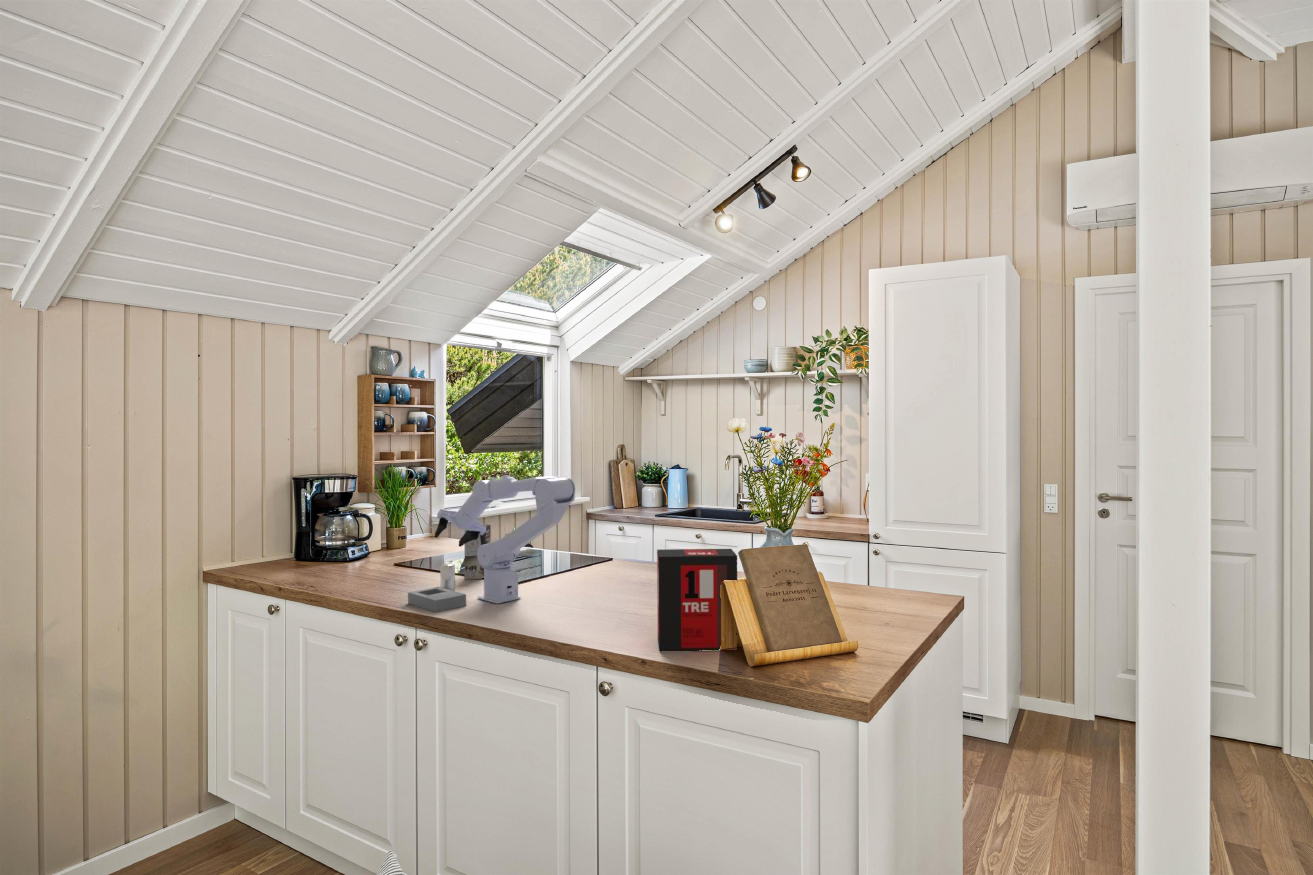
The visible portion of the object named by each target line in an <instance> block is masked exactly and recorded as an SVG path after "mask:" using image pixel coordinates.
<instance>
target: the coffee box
mask: <svg viewBox="0 0 1313 875" xmlns="http://www.w3.org/2000/svg"><path fill="white" fill-rule="evenodd" d="M483 525H484V526H486V532H485V533H484V534H483V535H481V534H479V537H478V539H476V540H472V541H469V542H467V543H466V544H464V579H465V580H466V579H467V580H472V579H473V580H474V579H475V580H483V579H482V578H484V568H482V565H481V564H480V563H479V561H478V557H477V552H478V549H479V547H480V546H481V545H483V544H490V543H491V542H492V541H491V540H492V539H491V538H492V535H491V532H492V530H491V526H492V524H483ZM466 531H467V530H464V534H465V533H466Z"/></svg>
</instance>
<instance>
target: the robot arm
mask: <svg viewBox="0 0 1313 875" xmlns="http://www.w3.org/2000/svg"><path fill="white" fill-rule="evenodd" d="M521 492H531V493H532V495H533V496H534V497H535V504H536V505H535V506H536V514H535V515H534V516H532V517H531V518H529V519H528V520H527V521H524V523H522V524H520V525H519V526H518V527H516V528H515V529H514V530H512V531H510V532H509V533H507V534H506V535H505V536H503V537H502V538H499V539H497V540H494V541H491V543H490V544H483V545H481V546H480V547H479V549H478V552H477V557H478V561H479V563H480V564H481V565H482V568H484V579H483V595H479V596H477V599H478V600H482V601H485V602H489V603H494V604H502V603H507V602H511V601H516V600H520V599H521V598H522V597H521V596H520V595H519V577H518V574H517V572H516V571H515V569H512V567H511V566H512V565H513V562H514V561H515V560H516V557H517V555H519V554H520V553H521V550H522V548H524V547H525V546H526V545H528V544H529V543H531V542H533V541H534V540H535V539H537V538H538V537H541V535H543V534H545V533H546V532H547V531H549V530H550V529H553V527H555V526H556V525H557V524H559V523H560V522H561V520H562V518H563V516H564V514H565V512H566V511H567V509H568V507H569V506H570V505H571V504H572V503H573V502H574V501H575V500H576V485H575V482H574V480H573V479H572V478H571V477H568V476H563V477H560V476H537V477H535V476H534V477H530V478H525V479H519V480H517V479H516V478H515V477H513V476H510V475H508V474H506V475H502V476H501V477H499V478H497V477H490V478H489V479H487V480H482V479H480V480H478V481H476V482H474V484H473V486H472V493H471V494H470V495H469V497H468V498H467V499H466V500H465V502H464V503H463V504H462V505H461V507H460V508H459V509H458V511H455V510H454V511H453V510H446V509H442V508H440V509H439V510H438V512H437V515H436V518H437V519H439V521H438V524H437V527H436V530H435V532H434V538H436V539H437V538H438V537H439V536H440V535H441V533H442V532H443V531H444V530H446V529H447V528H448V523H451V524H453V525H454V526H455V527H457V528H458V529H460V530H463V531H465V530H467V531H466V533H465V532H464V534H463V535H462V537H460V539H459V541H458V547H460V548H461V547H462V546H465V544H466V543H467V542H469V541H472V540H476V539H478V537H479V534H481V535H483V534H484V533H485V532H486V526H484V525H485V524H482V523H480V522H479V521H477V520H478V519H479V518H480V517H481V516H482V514H483V513H484V512H485V510H486V509H487V508H488V507H489V506H490V505H491V504H492V503H493V502H494V501H498V500H504V499H505V500H506V499H512V498H515V497H516V496H518V494H519V493H521Z"/></svg>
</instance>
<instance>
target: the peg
mask: <svg viewBox="0 0 1313 875" xmlns="http://www.w3.org/2000/svg"><path fill="white" fill-rule="evenodd" d="M440 587H441V588H445V589H448V590H452V591H456V564H455V563H443V564H440Z"/></svg>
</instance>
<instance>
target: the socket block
mask: <svg viewBox="0 0 1313 875" xmlns="http://www.w3.org/2000/svg"><path fill="white" fill-rule="evenodd" d="M407 604H409V605H412V606H415V607H418V608H421V609H425V610H429V611H431V612H433V613H434V612H435V613H438V612H443V611H447V609H448V610H451V609H456V608H461V607H465V605H466V606H467V594H466V593H463V592H459V591H456V590H455V591H452V590H448V589H445V588H441V586H435V587H431V588H429V587H428V588H424V589H418V590H413V591H408V592H407Z"/></svg>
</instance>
